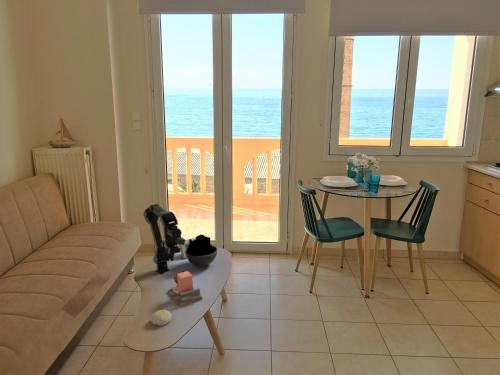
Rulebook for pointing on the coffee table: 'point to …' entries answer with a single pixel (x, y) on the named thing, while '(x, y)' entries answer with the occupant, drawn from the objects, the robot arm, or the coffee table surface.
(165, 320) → the sea urchin shell
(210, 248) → the bowl of black rocks
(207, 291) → the coffee table surface
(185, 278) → the salmon pink rectangular block
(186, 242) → the digital clock
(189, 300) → the base
